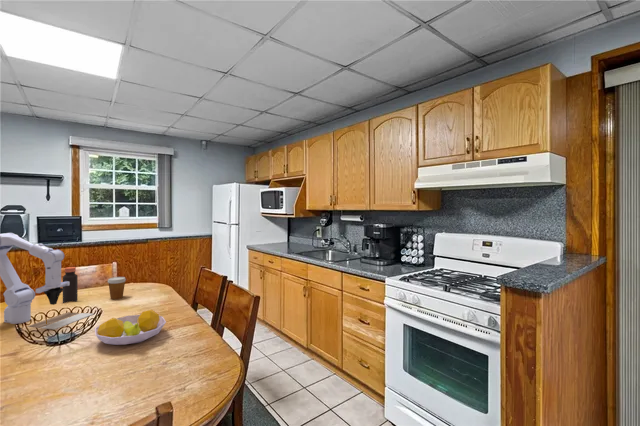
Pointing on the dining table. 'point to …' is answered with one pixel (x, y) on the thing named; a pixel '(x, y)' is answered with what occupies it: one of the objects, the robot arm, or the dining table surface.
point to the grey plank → (67, 321)
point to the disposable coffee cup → (116, 287)
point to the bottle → (72, 290)
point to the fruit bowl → (130, 328)
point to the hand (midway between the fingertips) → (53, 304)
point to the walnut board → (52, 320)
